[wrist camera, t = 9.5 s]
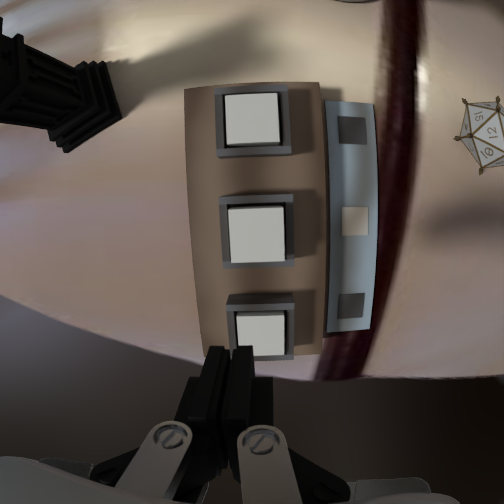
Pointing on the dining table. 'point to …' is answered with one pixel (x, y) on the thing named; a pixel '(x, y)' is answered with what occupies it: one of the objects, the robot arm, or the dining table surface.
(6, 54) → the chess piece
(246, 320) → the button
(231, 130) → the button
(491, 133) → the game die
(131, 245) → the dining table surface
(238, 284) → the board
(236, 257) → the button middle
